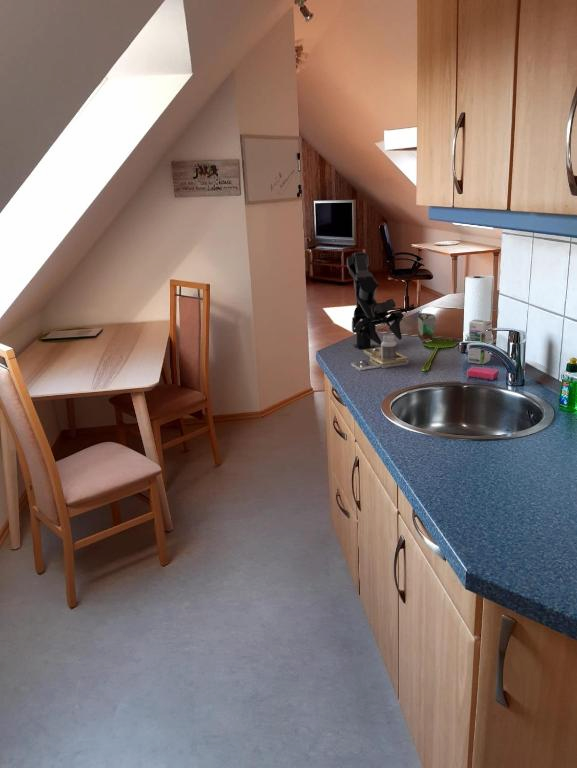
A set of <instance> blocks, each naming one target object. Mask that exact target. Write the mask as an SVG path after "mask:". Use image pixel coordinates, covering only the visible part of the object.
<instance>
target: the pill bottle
mask: <svg viewBox="0 0 577 768" xmlns="http://www.w3.org/2000/svg"><path fill="white" fill-rule="evenodd" d="M381 342H382V343H381V344H380V347H381V359H383V360H389V359H395V358H396V352H397V342H396V341H395V335H394V334H385V335H382V341H381Z"/></svg>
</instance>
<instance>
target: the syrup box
mask: <svg viewBox="0 0 577 768" xmlns="http://www.w3.org/2000/svg"><path fill="white" fill-rule="evenodd" d="M492 322H493V321H492V320H487V319H478V318H477V319H472V320H470V321H469V323H468V325H469V326H468V341H469V340H471V341H481V342H485V343H492V330H491V331H485V329H488V328H491V329H492V325H493V324H492ZM467 353H468V356H467V357H468V358H467V363H469V364H470V363H471V364H476V365H484V364H486V363H488V362H490V361H491V353H490V354H489V353H488V352H486V351H484V350H481V349H475V348H474V349H469V348H468V352H467Z"/></svg>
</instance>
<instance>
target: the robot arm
mask: <svg viewBox="0 0 577 768" xmlns="http://www.w3.org/2000/svg"><path fill="white" fill-rule="evenodd" d="M369 263H370V259H369V255H368V254H367V253H366V252H364V251H363V252H362V251H360V252H354V253H352V254H351V255H349V256H347V258H346V268H347V269H348V272H349V275H350V276H351V277H352V279H353V287H354V288H353V289H354V294H355V296H354V297H355V309H354V311H353V317H352V318H351V331H352V333H353V334H355V343H353V344H352V346H353V345H354V346H353V347H355V348H357V349H358V348H359V349H358V350H362V348H363V349H370V348H375V345H374V344H372V343H371V342H372V341H373V342H375V343H377V344H378V345H380V346H381V343H382V342H383V341H382V340H381V338H380V336H379V334H378V333H377V331H376V326H379V325H384V324H386V325H387V326H388V330H390V331H391V333H392V334H393V335H394V337H396V338H397V339H398V340H402V331H401V325H400V324H401V321H403V319H404V317H405V315H404V314H403V312H402V311H401V310H398V311H397V310H396V311H394V308H396V306H397V305H396V301H394V299H393V298H388V299H387V300H386V301H382V302H378V301H377V300H376V298H375V297H376V293H377V288H378V287H379V282H378V281H377V280H376V278H374V275H373V273H372V272H370V271H369V269H368V267H369V265H370V264H369ZM390 311H391V313H390V314H389V312H390ZM392 311H393V312H392ZM388 315H389V316H388ZM371 340H372V341H371Z"/></svg>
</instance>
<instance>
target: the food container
mask: <svg viewBox="0 0 577 768" xmlns="http://www.w3.org/2000/svg"><path fill="white" fill-rule="evenodd" d="M416 317H417V338H418V340H420V342H421V343H422V344H423V345H424V344H426V343H425V342H426V341H429V340H433V341H434V334H435V333H434V332H435V323H437V318H436V315H435V314H432V313H427V312H425V313H424V312H419V313H417V316H416Z"/></svg>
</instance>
